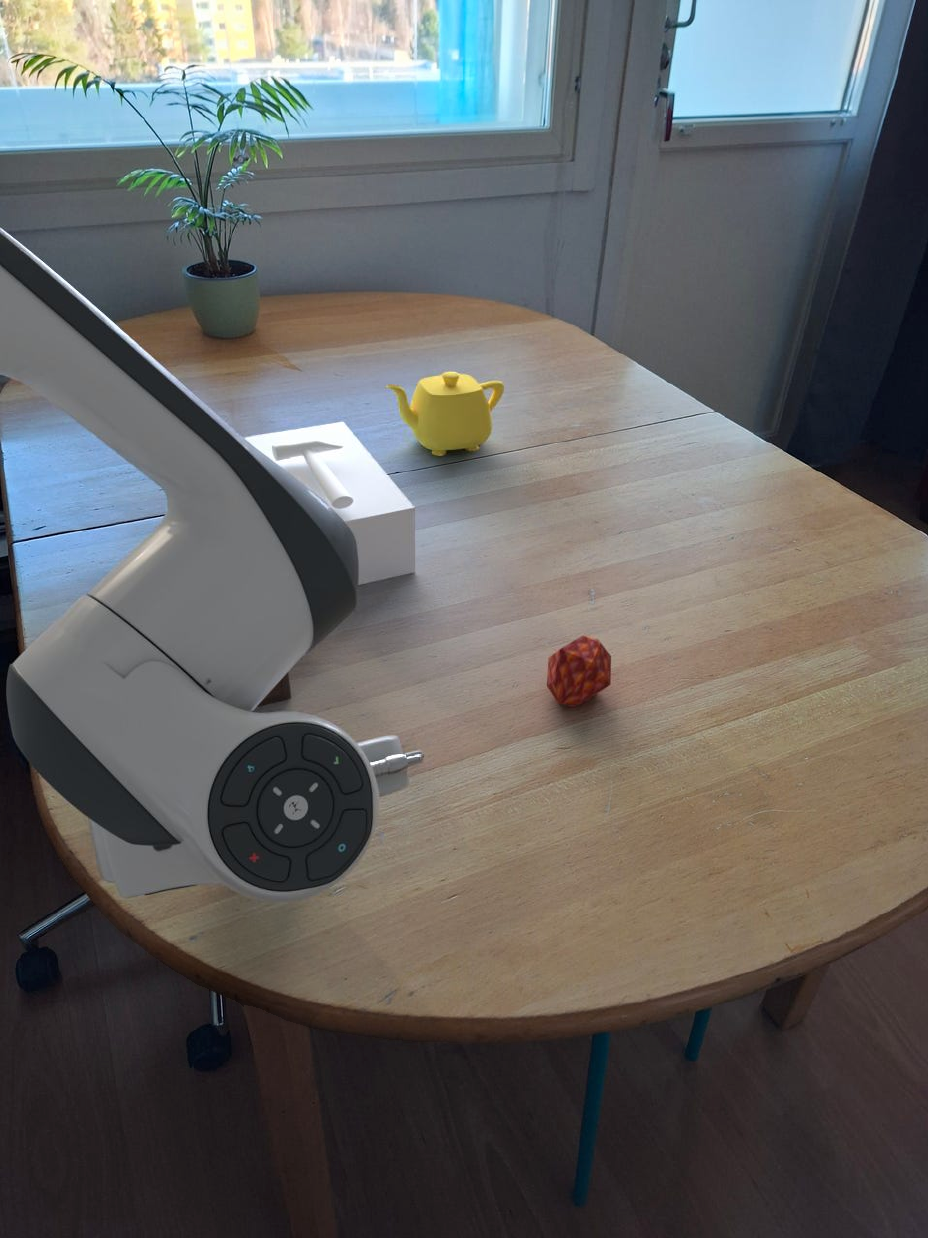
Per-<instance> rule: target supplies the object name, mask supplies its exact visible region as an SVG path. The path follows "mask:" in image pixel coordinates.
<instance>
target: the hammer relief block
mask: <svg viewBox="0 0 928 1238" xmlns="http://www.w3.org/2000/svg"><path fill="white" fill-rule="evenodd" d="M242 437H243V438H244V439H246V440H247V441H248V442H249V443H250V444H252V445H253V446H254V447H255V448H257V449H258V450H259V451H261V452H262V453H263V454H265V455H266V456H267V457H269V458H270V459H271V460H273V461H274V462H275V463H277V464H278V465H279V466H281V467H282V468H283V469H284V470H286V471H287V472H288V473H290V474H291V475H292V476H294V477H295V478H296V479H298V480H299V481H300V482H301V483H303V484H304V485H306V486H307V487H308V488H310V489H311V490H313V491H314V492H315V493H316V494H317V495H319V496H320V497H321V498H322V499H323V500H325V501H326V502H327V503H328V504H329V505H330V506H331V507H332V508H333V509H334V510H335V511H336V513H337V514H338V515H339V516H340V517H341V518H342V519H343V521H344V522H345V523H346V524H347V525H348V527H349V528H350V530H351V531H352V533H353V534H354V536H355V539H356V544H357V551H358V563H359V581H358V586H360V585H365V584H369V583H374V582H378V581H383V580H387V579H391V578H396V577H401V576H405V575H409V574H413V573H414V574H415V573H416V508H415V507H416V506H414V505H413V504H412V502H411V501H410V500H409V499H408V498H407V496H406V495H405V494H404V492H403V491H402V490H401V489H400V488H399V487H398V486H397V484H396V483H395V482H394V480H393V479H391V477H390V476H389V475H388V473H387V472H386V471H385V470H384V469H383V468H382V466H381V465H380V464H379V463H378V462H377V460H376V459H375V458H374V457H373V455H372V454H371V453H370V452H369V450H368V449H367V448H366V447H365V446H364V445H363V444H362V442H361V441H360V440H359V439H358V437H356V435H355V434H354V433H353V432H352V430H351V429H350V428H349V426H348V425H347V424H346V423H345V422H344V421H338V422H332V423H326V424H320V425H313V426H307V427H300V428H293V429H288V430H283V431H276V432H269V433H263V434H257V435H251V436H250V435H249V436H242Z"/></svg>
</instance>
